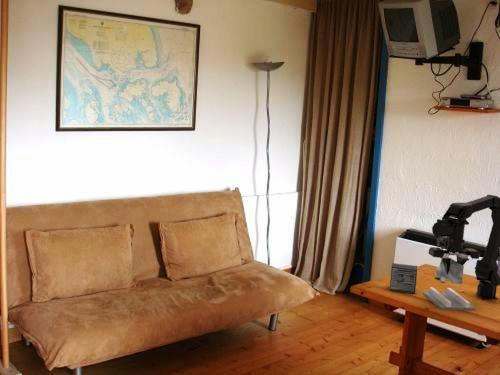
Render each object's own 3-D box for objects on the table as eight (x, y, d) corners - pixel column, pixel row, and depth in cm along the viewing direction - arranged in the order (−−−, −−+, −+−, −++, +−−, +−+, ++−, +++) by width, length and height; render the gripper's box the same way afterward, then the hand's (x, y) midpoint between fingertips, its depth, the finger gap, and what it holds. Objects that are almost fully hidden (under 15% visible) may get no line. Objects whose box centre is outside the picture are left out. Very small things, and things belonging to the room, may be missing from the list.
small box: (415, 289, 258) (418, 265, 256) (415, 294, 252) (417, 269, 250) (389, 286, 261) (392, 262, 259) (389, 290, 254) (391, 266, 253)
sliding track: (455, 295, 253) (456, 288, 253) (475, 310, 236) (476, 302, 235) (422, 294, 252) (423, 287, 251) (440, 309, 234) (441, 301, 234)
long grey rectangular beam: (448, 274, 248) (450, 257, 247) (461, 283, 237) (463, 266, 236) (440, 274, 248) (442, 257, 247) (453, 283, 236) (455, 266, 235)
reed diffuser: (432, 275, 280) (436, 233, 277) (447, 276, 280) (451, 234, 278) (439, 282, 270) (443, 238, 267) (454, 283, 270) (459, 239, 267)
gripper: (469, 231, 249) (465, 268, 251) (425, 230, 247) (421, 267, 249) (482, 238, 238) (477, 277, 240) (436, 236, 236) (431, 275, 238)
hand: (451, 274), depth 242 cm, fingers closed on long grey rectangular beam, 3 cm apart
